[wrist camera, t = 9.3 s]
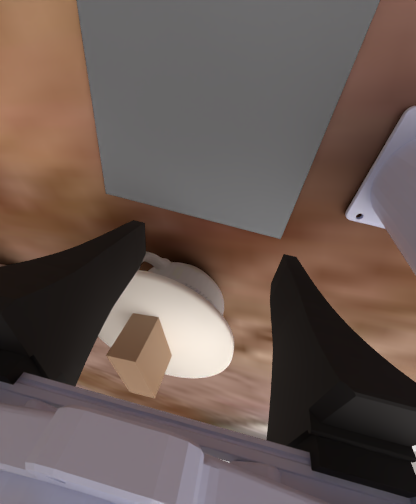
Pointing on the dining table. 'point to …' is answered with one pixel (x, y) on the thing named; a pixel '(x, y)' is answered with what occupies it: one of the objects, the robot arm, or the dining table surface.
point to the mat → (217, 99)
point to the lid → (164, 334)
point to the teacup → (187, 278)
